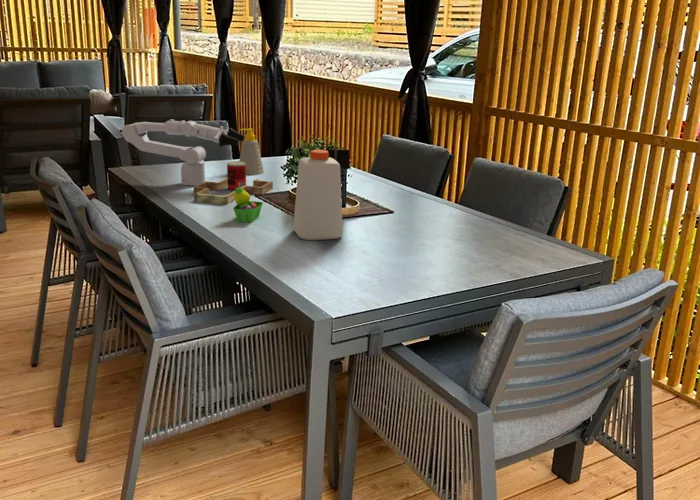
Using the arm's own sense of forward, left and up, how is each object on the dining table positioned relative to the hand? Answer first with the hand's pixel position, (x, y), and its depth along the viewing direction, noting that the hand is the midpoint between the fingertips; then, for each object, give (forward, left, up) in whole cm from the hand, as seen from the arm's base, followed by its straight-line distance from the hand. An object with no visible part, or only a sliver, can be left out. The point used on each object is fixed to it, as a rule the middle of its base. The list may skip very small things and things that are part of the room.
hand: (241, 140), depth 275 cm
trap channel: (0, -11, -20) cm, 23 cm away
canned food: (-1, -2, -20) cm, 20 cm away
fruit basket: (+20, -43, -20) cm, 52 cm away
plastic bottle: (+49, -52, -20) cm, 74 cm away
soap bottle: (-8, +31, -20) cm, 38 cm away
